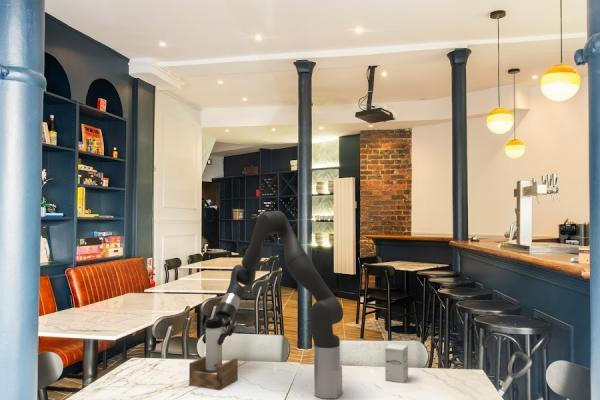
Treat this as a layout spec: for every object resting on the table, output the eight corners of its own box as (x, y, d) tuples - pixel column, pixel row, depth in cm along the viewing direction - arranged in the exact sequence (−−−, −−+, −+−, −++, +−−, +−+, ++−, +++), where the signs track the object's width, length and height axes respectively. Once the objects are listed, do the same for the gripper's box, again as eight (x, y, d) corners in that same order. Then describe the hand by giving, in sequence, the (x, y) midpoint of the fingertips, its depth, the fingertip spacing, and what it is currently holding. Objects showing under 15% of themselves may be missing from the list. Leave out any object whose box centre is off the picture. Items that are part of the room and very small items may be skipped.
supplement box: (384, 380, 177) (384, 347, 178) (390, 375, 184) (389, 343, 185) (403, 383, 174) (403, 349, 175) (408, 377, 181) (408, 345, 181)
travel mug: (219, 373, 174) (219, 320, 175) (203, 372, 175) (203, 319, 176) (225, 368, 180) (225, 316, 181) (209, 367, 181) (209, 316, 182)
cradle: (237, 380, 180) (237, 358, 180) (220, 390, 169) (220, 367, 169) (208, 375, 186) (208, 355, 186) (189, 385, 175) (189, 363, 175)
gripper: (210, 300, 189) (191, 336, 177) (240, 302, 183) (223, 339, 171) (217, 311, 193) (200, 346, 182) (246, 313, 187) (231, 350, 176)
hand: (211, 343), depth 177 cm, fingers closed on travel mug, 6 cm apart
